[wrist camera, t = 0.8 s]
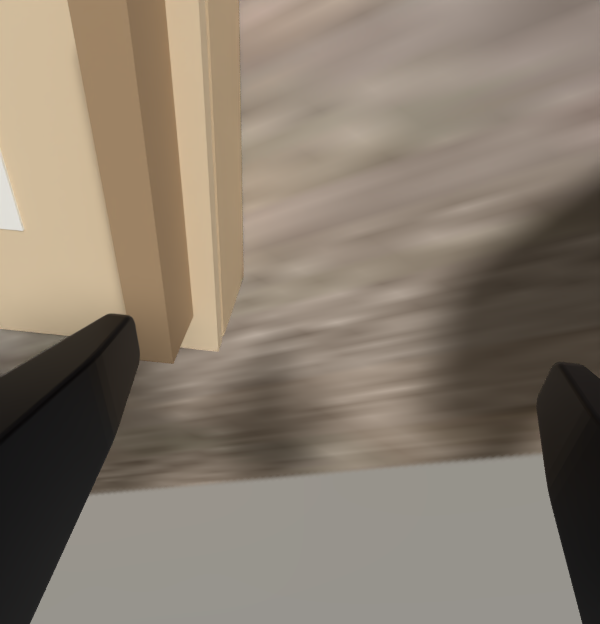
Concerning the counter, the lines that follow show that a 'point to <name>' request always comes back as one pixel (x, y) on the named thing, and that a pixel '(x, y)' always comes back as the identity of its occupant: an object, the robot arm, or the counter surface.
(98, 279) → the lid
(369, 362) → the counter surface
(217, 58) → the box
